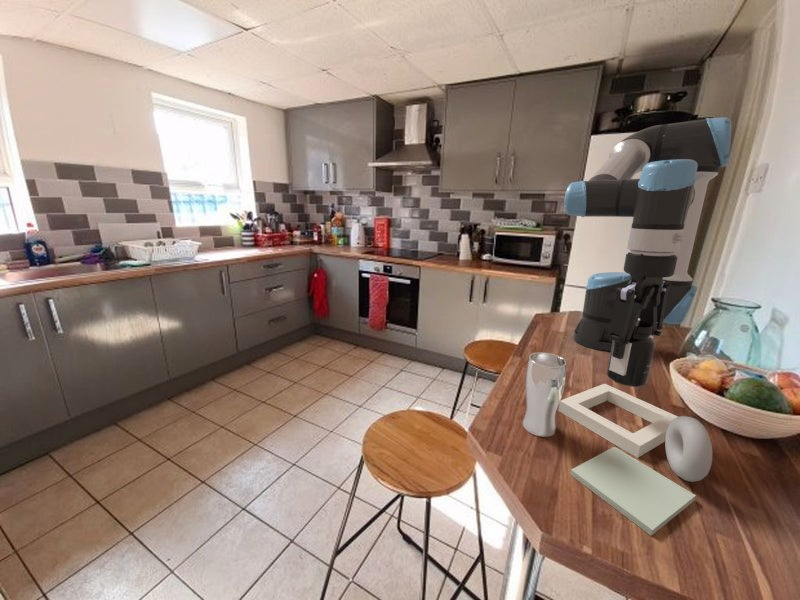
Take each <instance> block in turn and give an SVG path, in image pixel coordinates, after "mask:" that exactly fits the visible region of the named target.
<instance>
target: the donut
mask: <svg viewBox="0 0 800 600" xmlns="http://www.w3.org/2000/svg"><path fill="white" fill-rule="evenodd" d="M664 443H665V444H664V445H665V454H666V459H667V462H668V463H669V467H670V468H671V469H672V471H673V472H674V474H675V475H677V476H678V477H680V478H681V479H683V480H684V481H687V482H698V481H702V480H703V479H704V478H705V477H707V476H708V475H709V472H710V470H711V467H712V463H713V446H712V444H713V443H712V440H711V438H710V434H709V432H708V431H707V429H706V427H705V426H704V425H703V423H701V421H699V420H698V419H696V418H694V417H691V416H687V415H680V416H678V417H677V418H675V419H673V420H672V422H671V423H670V424H669V426H668V429H667V432H666V437H665V442H664Z"/></svg>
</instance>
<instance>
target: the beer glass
mask: <svg viewBox="0 0 800 600" xmlns="http://www.w3.org/2000/svg"><path fill="white" fill-rule="evenodd" d="M525 372H526V373H525V381H524V382H525V383H524V384H525V385H524V386H525V398H526V399H525V400H526V411H525V413H524V414H525V415H524V417H523V420H522V426H523V428H524V429H525V431H527V432H528V433H530V434H531V435H534V436H536V437H541V438H548V437H551V436H553V435H555V433H556V413H557V411H558V409H559V403H560V401H561V400H562V397H563V393H564V389H565V385H566V378H567V361H566V359H565V358H563V357H562V356H560V355H557V354H554V353H551V352H545V351H544V352H541V351H540V352H533V353H531V354H530V355H529V356H528V362H527V366H526V371H525Z"/></svg>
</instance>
